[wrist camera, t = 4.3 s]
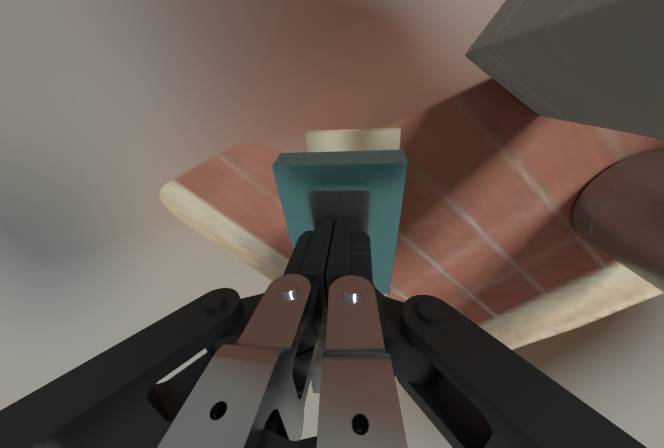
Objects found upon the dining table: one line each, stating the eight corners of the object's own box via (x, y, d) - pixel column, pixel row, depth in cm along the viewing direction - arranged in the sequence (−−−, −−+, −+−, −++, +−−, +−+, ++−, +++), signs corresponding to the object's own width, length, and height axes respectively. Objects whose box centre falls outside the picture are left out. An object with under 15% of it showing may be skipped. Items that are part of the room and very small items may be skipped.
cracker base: (398, 127, 21) (439, 167, 10) (385, 290, 30) (399, 406, 19) (308, 131, 22) (251, 171, 11) (322, 287, 31) (300, 396, 20)
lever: (382, 166, 19) (408, 145, 8) (378, 358, 22) (393, 523, 11) (320, 167, 19) (271, 149, 9) (323, 354, 22) (289, 506, 12)
